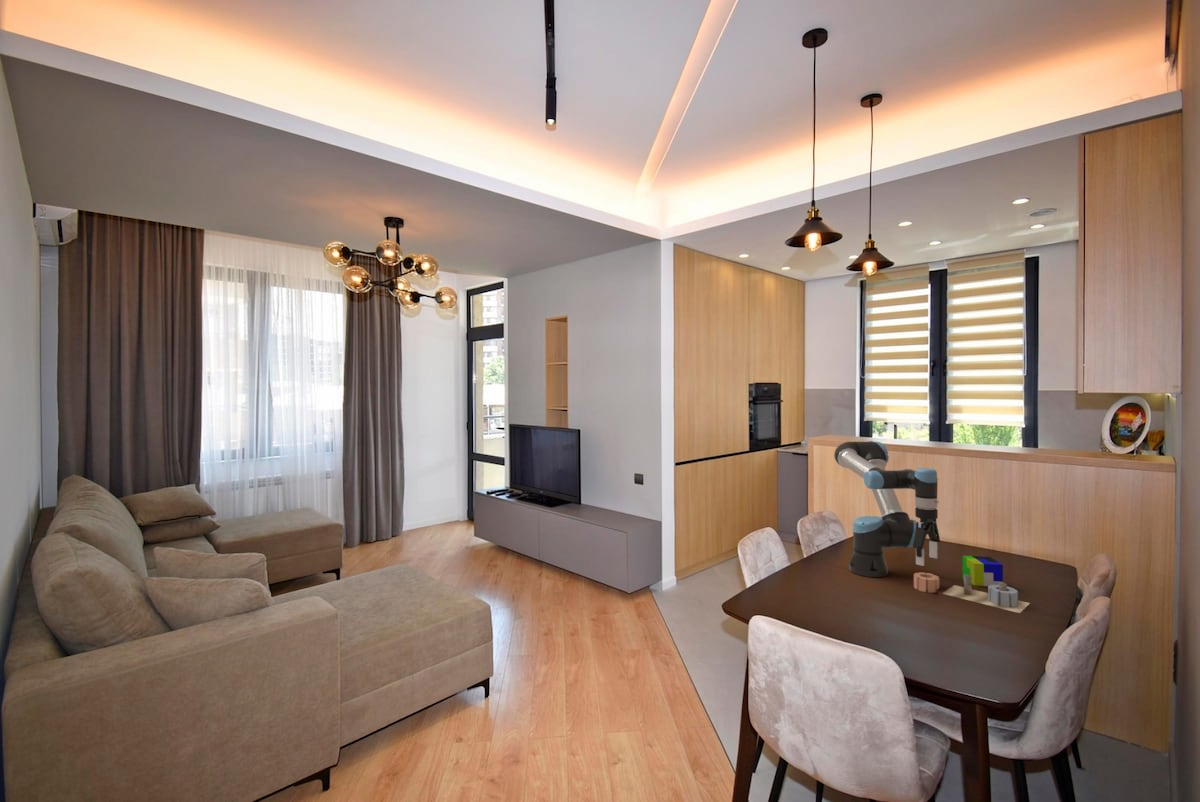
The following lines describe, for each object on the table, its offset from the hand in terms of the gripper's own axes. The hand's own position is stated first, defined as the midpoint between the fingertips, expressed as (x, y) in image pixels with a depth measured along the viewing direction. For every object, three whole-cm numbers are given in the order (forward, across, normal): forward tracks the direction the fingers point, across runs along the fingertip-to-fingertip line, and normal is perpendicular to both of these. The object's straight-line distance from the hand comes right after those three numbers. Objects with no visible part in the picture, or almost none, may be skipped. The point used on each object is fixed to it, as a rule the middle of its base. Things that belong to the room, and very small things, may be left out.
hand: (926, 561), depth 213 cm
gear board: (+11, +2, -19) cm, 22 cm away
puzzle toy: (+11, +21, -13) cm, 27 cm away
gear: (+10, +2, -24) cm, 26 cm away
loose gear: (+11, 0, 0) cm, 11 cm away
